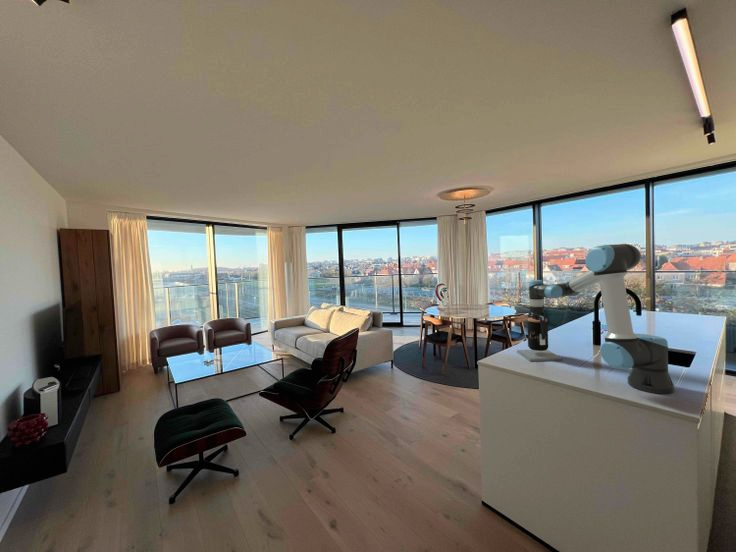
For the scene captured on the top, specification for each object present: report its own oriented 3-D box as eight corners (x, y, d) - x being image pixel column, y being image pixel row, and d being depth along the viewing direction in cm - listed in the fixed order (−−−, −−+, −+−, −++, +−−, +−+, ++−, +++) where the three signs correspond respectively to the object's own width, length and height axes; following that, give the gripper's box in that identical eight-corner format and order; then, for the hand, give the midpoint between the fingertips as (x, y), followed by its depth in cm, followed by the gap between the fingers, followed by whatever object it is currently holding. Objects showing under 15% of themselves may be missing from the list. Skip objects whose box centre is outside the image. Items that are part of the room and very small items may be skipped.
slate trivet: (562, 360, 172) (562, 358, 172) (530, 361, 174) (529, 359, 173) (546, 350, 190) (545, 348, 190) (516, 352, 191) (516, 350, 191)
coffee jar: (528, 350, 179) (527, 320, 179) (528, 345, 189) (527, 316, 188) (548, 351, 174) (548, 321, 174) (547, 346, 184) (546, 317, 183)
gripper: (553, 308, 169) (554, 347, 170) (533, 302, 192) (534, 336, 193) (539, 309, 169) (541, 348, 170) (521, 303, 192) (522, 337, 193)
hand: (537, 342), depth 181 cm, fingers closed on coffee jar, 11 cm apart
